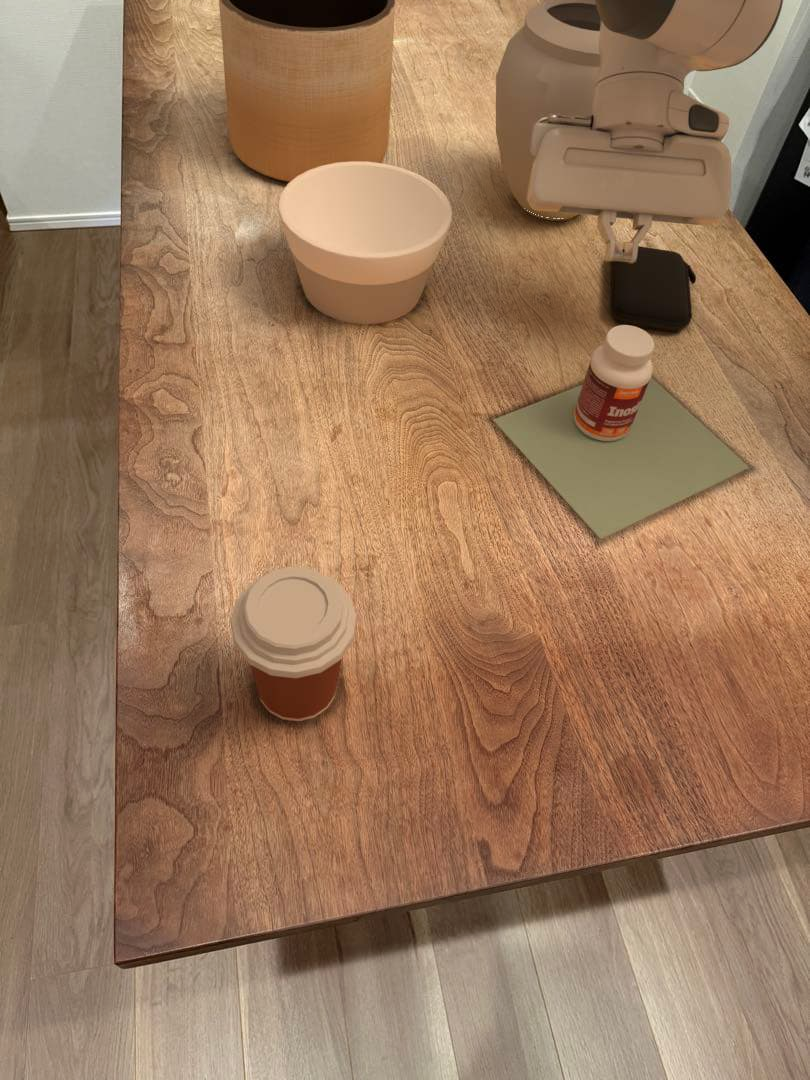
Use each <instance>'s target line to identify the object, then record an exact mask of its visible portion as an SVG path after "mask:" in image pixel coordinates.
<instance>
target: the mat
mask: <svg viewBox="0 0 810 1080" xmlns="http://www.w3.org/2000/svg"><path fill="white" fill-rule="evenodd" d="M582 386H583V384H580V385H578V386H575V387H572V388H571V389H568V390H565V391H563V392H560V393H558V394H557V393H556V394H555V395H552V396H550V397H548V398H545V399H542V400H539V401H537V402H534V403H531V404H529V405H527V406H524V407H521V408H519V409H516V410H513V411H512V412H509V413H506V414H503V415H500V416H499V417H497V418H493V419H492V421H493V423H494V424H495V425H496V426H497V427H498V428H499V430H500V431H501V432H502V433H503V434H504V435H505V436H506V437H507V438H508V440H509V441H510V442H511V443H512V444H513V445H514V446H515V447H516V449H518V451H520V453H521V454H522V455H523V456H524V457H525V458H526V459H527V460H528V462H529V463H530V464H531V465H532V466H533V467H534V468H535V469H536V470H537V472H538V473H539V474H540V475H541V477H543V478H544V480H545V481H547V483H548V484H549V485H550V486H551V487H552V488H553V489H554V490H555V492H556V493H557V494H558V495H559V496H560V497H561V498H562V499H563V500H564V502H565V503H566V504H567V505H568V506H569V507H570V508H571V509H572V511H574V513H575V514H576V515H577V516H578V517H579V518H580V519H581V520H582V522H583V523H584V524H585V525H586V526H587V527H588V528H589V529H590V530H591V531H592V533H593V534H594V535H595V536H596V537H597V538H598V539H599V540H603V539H605V538H607V537H609V536H611V535H613V534H616V533H617V532H620V531H621V530H623V529H625V528H628V527H630V526H632V525H634V524H636V523H638V522H641V521H642V520H644V519H647V518H649V517H651V516H653V515H655V514H658V513H659V512H662V511H663V510H665V509H667V508H669V507H672V506H673V505H676V504H677V503H680V502H681V501H684V500H687V499H689V498H690V497H692V496H694V495H697V494H699V493H701V492H703V491H705V490H707V489H709V488H711V487H714V486H715V485H717V484H719V483H722V482H725V481H726V480H727V479H730V478H732V477H734V476H736V475H737V474H738V475H739V474H740V473H742V472H745V471H747V470H749V469H750V466H749V465H748V464H747V463H746V462H744V461H743V460H742V459H741V458H740V457H739V456H738V455H737V454H736V453H734V451H733V450H732V449H730V448H729V447H728V446H727V445H726V444H725V443H724V442H723V441H722V440H720V439H719V438H718V437H717V436H716V435H715V434H714V433H713V432H712V431H711V430H710V429H709V428H707V426H705V425H704V424H703V423H702V422H701V421H700V420H699V419H698V418H697V417H695V415H693V414H692V413H691V412H690V411H689V410H688V409H687V408H685V406H683V404H681V403H680V402H679V401H678V400H677V399H676V398H675V397H674V396H673V395H671V394H670V393H669V392H668V390H666V389H665V388H664V387H663V386H662V385H661V384H660V383H659V382H657V380H655V378H654V377H652V376H651V378H650V381H649V384H648V386H647V388H646V391H645V394H644V396H643V399H642V401H641V404H640V406H639V409H638V411H637V414H636V416H635V419H634V421H633V424H632V426H631V428H630V430H629V432H628V433H627V434H626V435H625V436H624V437H622V438H620V439H618V440H614V441H601V440H597V439H594V438H592V437H589V436H588V435H586V434H584V433H583V432H582V431H581V430H580V429H579V428H578V427H577V425H576V423H575V420H574V411H575V407H576V404H577V401H578V398H579V395H580V392H581V389H582Z"/></svg>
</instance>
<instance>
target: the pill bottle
mask: <svg viewBox="0 0 810 1080" xmlns="http://www.w3.org/2000/svg"><path fill="white" fill-rule="evenodd" d="M654 349H655V341H654V339H653V337H652V336H651V334H649V332H647V331H646V330H644V329H642V328H641V327H637V326H630V325H624V324H620V325H616V326H613V327H612V328H611V329H609V330H608V332H607V334H606V336H605V338H604V342H603V344H601V345H599V346H598V347H597V348H596V349H595V350H594V352H593V353H592V356H591V358H590V361H589V364H588V367H587V369H586V370H587V371H586V374H585V375H584V379H583V383H582V385H583V386H582V389H581V392H580V395H579V398H578V401H577V404H576V407H575V411H574V420H575V423H576V425H577V427H578V428H579V429H580V430H581V431H582V432H583V433H584V434H586V435H588V436H589V437H592V438H594V439H597V440H601V441H614V440H618V439H620V438H622V437H624V436H625V435H626V434H627V433H628V432H629V430H630V428H631V426H632V424H633V421H634V419H635V416H636V414H637V411H638V409H639V406H640V404H641V401H642V399H643V396H644V394H645V391H646V388H647V386H648V384H649V381H650V378H651V377H652V375H653V372H654V364H653V362H652V359H651V358H652V355H653V352H654Z"/></svg>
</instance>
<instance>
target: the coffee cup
mask: <svg viewBox="0 0 810 1080" xmlns="http://www.w3.org/2000/svg"><path fill="white" fill-rule="evenodd" d="M357 621H358V614H357V611H356V608H355V605H354V602H353V599H352V596H351V595H350V594H349V592H348V591H347V590H345V588H344V587H343V586H342V585H341V584H340V582H339V581H337V580H336V579H334V578H333V577H331V576H328V575H327V574H324V573H322V572H321V571H318V570H316V569H314V568H312V567H304V566H297V565H291V566H286V567H280V568H275V569H273V570H270V571H269V572H267V573H266V574H264V575H262V576H260V577H259V578H257V579H255V580H254V581H252V582H250V583H249V584H248V585H247V587H246V588H245V589H244V590H243V591H242V593H241V594H240V595H239V596H238V598H237V599H236V600H235V603H234V607H233V610H232V613H231V618H230V621H229V622H230V628H231V632H232V636H233V641H234V645H235V648H236V649H237V650H238V652H239V653H240V654H241V656H242V657H243V659H245V661H246V662H247V663H248V664H249V665H250V668H251V672H252V675H253V679H254V681H255V685H256V689H257V692H258V695H259V699H260V702H261V703H262V705H263V706H264V707H265V708H266V710H267V711H268V712H269V713H270V714H272V715H273V716H276V717H278V718H280V719H282V720H285V721H292V722H293V721H294V722H301V721H306V720H310V719H314V718H316V717H317V716H318V715H320V714H322V713H324V712H325V711H326V710H327V709H328V708H329V707H330V705H331V704H332V703H333V701H334V699H335V697H336V693H337V686H338V681H339V675H340V670H341V665H342V661H343V657H345V654H346V653H347V651H348V650H349V649H350V647H351V646H352V644H353V643H354V641H355V635H356V629H357Z"/></svg>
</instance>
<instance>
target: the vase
mask: <svg viewBox="0 0 810 1080" xmlns="http://www.w3.org/2000/svg"><path fill="white" fill-rule="evenodd" d="M600 24H601V18H600V15H599V13H598V10H597V7H596V3H595V0H542V1H541V2H539V3H537V4H535V5H533V6H532V7H530V8H529V9H528V10H527V12H526V13H525V15H524V26H522V28H521V29H520V30H518V31H517V32H516V33H515V34H514V35H513V36H512V37H511V38H510V39H509V40H508V42H507V44H506V47H505V50H504V53H503V54H502V55H503V56H502V58H501V60H500V63H499V67H498V69H497V72H496V74H495V135H496V140H497V146H498V151H499V157H500V163H501V168H502V172H503V174H504V176H505V179H506V181H507V183H508V186H509V189H510V191H511V193H512V196H513V197H514V198H515V200H516V201H517V203H518V205H519V206H520V207H521V208H522V210H524V211H525V212H526V213H528V214H529V215H530V216H531V215H532V216H533V217H536V218H537V219H538V218H539V219H542V220H547V221H566V220H569V219H572V218H575V217H576V216H578V215H579V214H571V213H560V212H549V211H538V210H533V209H532V208H531V206H530V205H529V203H528V201H527V192H528V185H529V179H530V175H531V170H532V166H533V162H534V158H535V157H534V156H533V154H532V152H531V149H530V139H531V130H532V127H533V125H534V124H535V122H536V121H537V120H539V119H540V118H542V117H547V116H548V114H549V113H560V114H561V115H583V116H591V114H592V104H593V93H594V85H595V82H596V79H597V76H598V74H599V70H600V53H599V45H598V44H599V33H600ZM542 123H547V121H544V122H542ZM524 208H525V209H524ZM527 210H528V211H527ZM529 211H530V212H529ZM531 212H532V213H531ZM533 213H534V214H533ZM535 214H536V215H535ZM538 215H539V216H538ZM541 216H543V217H541ZM546 217H549V218H546ZM569 217H570V218H569ZM553 218H556V219H553ZM557 218H560V219H557ZM561 218H564V219H561Z"/></svg>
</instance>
